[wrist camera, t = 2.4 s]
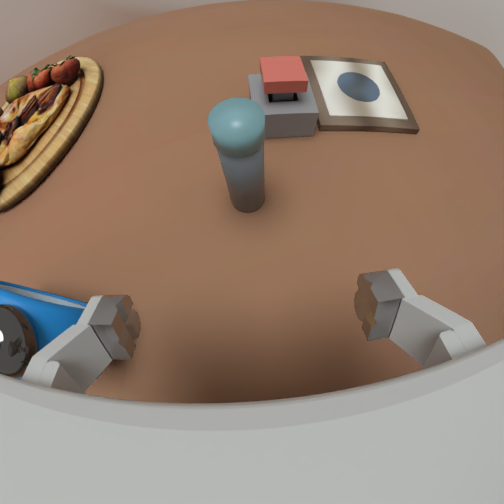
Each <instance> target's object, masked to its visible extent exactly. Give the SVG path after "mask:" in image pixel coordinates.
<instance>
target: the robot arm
mask: <svg viewBox="0 0 504 504" xmlns="http://www.w3.org/2000/svg"><path fill="white" fill-rule="evenodd" d="M357 285H358V287H359V289H358V291H357V292H356V293H355V298H354V306H355V311H356V315H357V317H358V319H360V320H361V321H363V324H362V329H363V331H364V334H365V336H366V338H367V341H371V340H377V339H382V338H388V337H389V339H390V340H392V341H393V342H394V343H395V344H396V345H398V346H399V347H400V348H401V349H403V350H404V351H405V352H406V353H407V354H409V355H410V356H411V357H412V358H413V359H415V360H416V361H417V362H418V363H419V364H421V365H422V366H423V367H422V369H421V370H420V371H417V372H413V373H410V374H406V375H403V376H399V377H396V378H392V379H388V380H384V381H380V382H376V383H372V384H368V385H363V386H359V387H354V388H349V389H344V390H339V391H333V392H328V393H322V394H315V395H309V396H302V397H294V398H286V399H277V400H266V401H254V402H237V403H164V402H148V401H135V400H125V399H116V398H108V397H100V396H94V395H87V394H85V391H86V390H87V388H88V387H89V386H90V385H91V384H92V383H93V382H94V380H95V379H96V378H97V377H98V376H99V375H100V374H101V372H102V371H103V370H104V369H105V368H106V367H107V366H108V365H109V364H110V362H111V361H112V359H128V360H132V357H133V353H134V350H135V347H136V345H135V343H134V340H135V339H137V338H138V337H139V334H140V330H141V323H140V318H139V315H138V313H137V312H136V311H135V310H134V309H132V305H133V302H132V300H131V298H130V296H128V295H99V296H93V297H91V299H90V300H89V302H88V304H87V306H86V308H85V309H84V311H83V313H82V315H81V317H80V319H79V320H78V322H77V324H76V325H72V326H71V327H70V328H68V329H67V330H66V331H64V332H63V333H62V334H60V335H59V336H58V337H57V338H55V339H54V340H53V341H51V342H50V343H49V344H48V345H46V346H45V347H44V348H43V349H41V350H40V351H39V352H38V353H36V354H35V355H34V356H33V357H32V358H31V360H30V362H29V364H28V366H27V368H26V371H25V373H24V375H23V377H22V379H21V380H20V379H16V378H13V377H9V376H6V375H3V374H0V504H504V338H502V339H500V340H498V341H496V342H493V343H491V344H489V345H486V343H485V342H484V340H483V339H482V337H481V336H480V334H479V333H478V331H477V330H476V328H475V327H474V325H473V324H472V322H470V321H469V320H467V319H465V318H463V317H461V316H460V315H458V314H456V313H454V312H452V311H450V310H449V309H447V308H445V307H443V306H441V305H439V304H438V303H436V302H434V301H432V300H430V299H428V298H426V297H424V296H423V295H419V296H418V295H417V293H416V292H415V290H414V289H413V287H412V286H411V285H410V283H409V282H408V280H407V279H406V278H405V276H404V275H403V273H402V272H401V271H400V269H398V268H394V269H388V270H384V271H377V272H370V273H362V274H359V276H358V279H357Z"/></svg>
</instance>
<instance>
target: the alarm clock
mask: <svg viewBox="0 0 504 504" xmlns="http://www.w3.org/2000/svg"><path fill="white" fill-rule="evenodd" d="M87 304H88V303H85V302H81V301H78V300H74V299H70V298H67V297H63V296H59V295H55V294H52V293H48V292H44V291H40V290H36V289H32V288H28V287H24V286H20V285H16V284H12V283H8V282H4V281H0V374H3V375H6V376H9V377H13V378H17V379H20V380H21V379H22V377H23V375H24V373H25V371H26V368H27V366H28V364H29V362H30V360H31V358H32V357H33V356H34V355H35V354H36V353H38V352H39V351H40V350H41V349H43V348H44V347H45V346H46V345H48V344H49V343H50V342H51V341H53V340H54V339H55V338H57V337H58V336H59V335H60V334H62V333H63V332H64V331H66V330H67V329H68V328H70V327H71V326H72V325H76V324H77V322H78V320H79V319H80V317H81V315H82V313H83V311H84V309H85V308H86V306H87ZM100 375H101V374H100ZM100 375H99V376H100ZM99 376H98V377H99ZM98 377H97V378H98ZM97 378H96V379H97Z"/></svg>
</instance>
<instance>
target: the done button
mask: <svg viewBox="0 0 504 504" xmlns="http://www.w3.org/2000/svg"><path fill="white" fill-rule="evenodd" d="M260 72H261V78H262V83H263V89H264V94H272V96H273V101H277V100H293V94H294V93H298V92H307V87H308V78H307V75H306V72H305V69H304V66H303V63H302V61H301V58H300V56H282V57H260Z"/></svg>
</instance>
